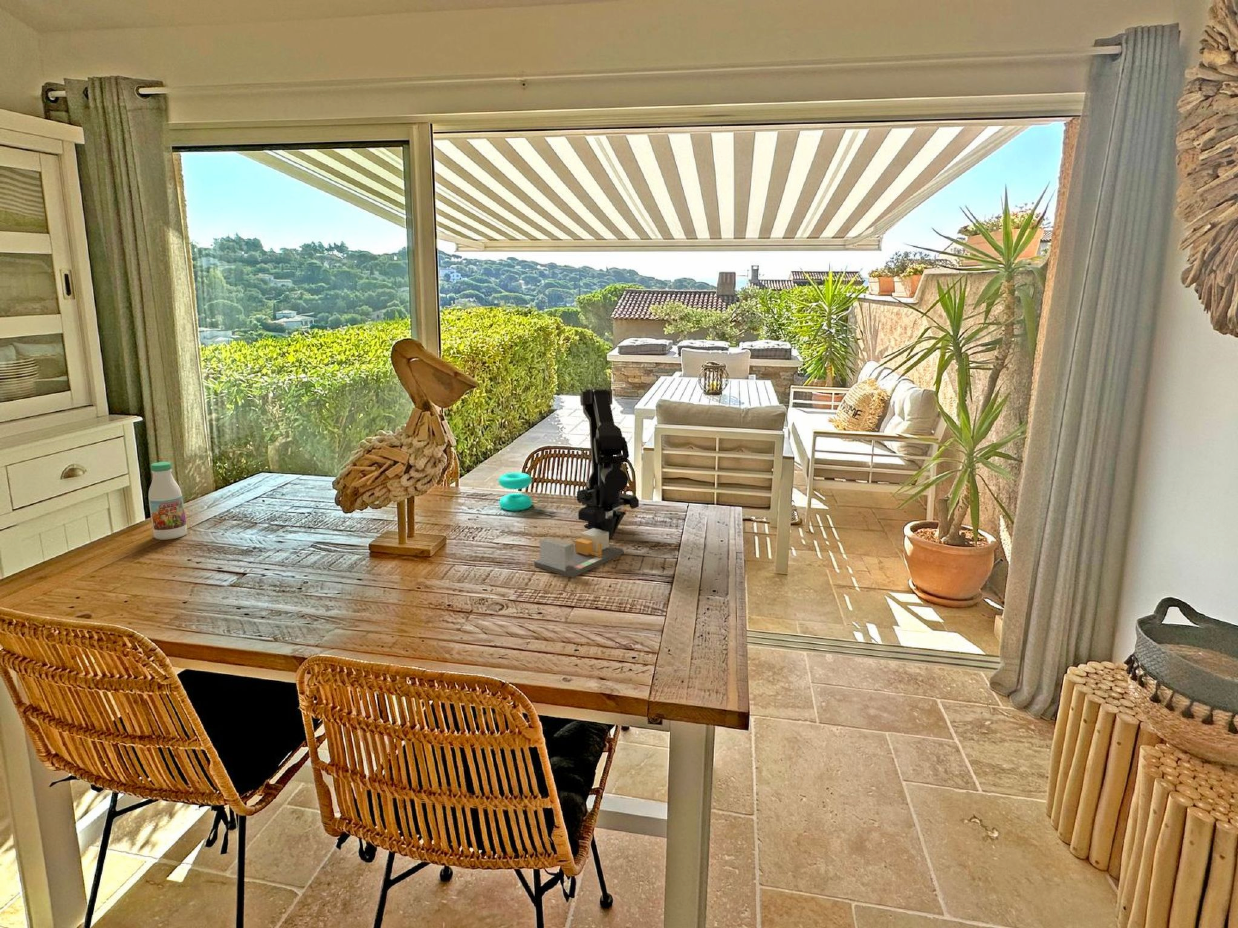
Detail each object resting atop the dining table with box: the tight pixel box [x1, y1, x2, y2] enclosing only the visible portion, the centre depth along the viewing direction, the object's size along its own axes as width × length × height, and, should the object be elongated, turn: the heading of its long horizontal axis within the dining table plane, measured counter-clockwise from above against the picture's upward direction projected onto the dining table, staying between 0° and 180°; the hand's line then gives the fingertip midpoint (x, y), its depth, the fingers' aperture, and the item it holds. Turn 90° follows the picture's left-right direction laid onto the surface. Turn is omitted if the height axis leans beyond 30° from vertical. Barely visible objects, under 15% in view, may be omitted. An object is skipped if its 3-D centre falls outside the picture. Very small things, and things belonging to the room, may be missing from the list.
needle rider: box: [574, 537, 602, 557], centre depth 180 cm, size 2×8×4 cm, turn 53°
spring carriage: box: [580, 528, 610, 552], centre depth 184 cm, size 5×5×4 cm
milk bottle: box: [147, 461, 188, 540], centre depth 193 cm, size 8×8×20 cm
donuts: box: [498, 472, 533, 512], centre depth 222 cm, size 10×10×10 cm
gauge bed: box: [533, 536, 624, 579], centre depth 180 cm, size 20×12×7 cm, turn 143°
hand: (609, 539), depth 189 cm, fingers closed
